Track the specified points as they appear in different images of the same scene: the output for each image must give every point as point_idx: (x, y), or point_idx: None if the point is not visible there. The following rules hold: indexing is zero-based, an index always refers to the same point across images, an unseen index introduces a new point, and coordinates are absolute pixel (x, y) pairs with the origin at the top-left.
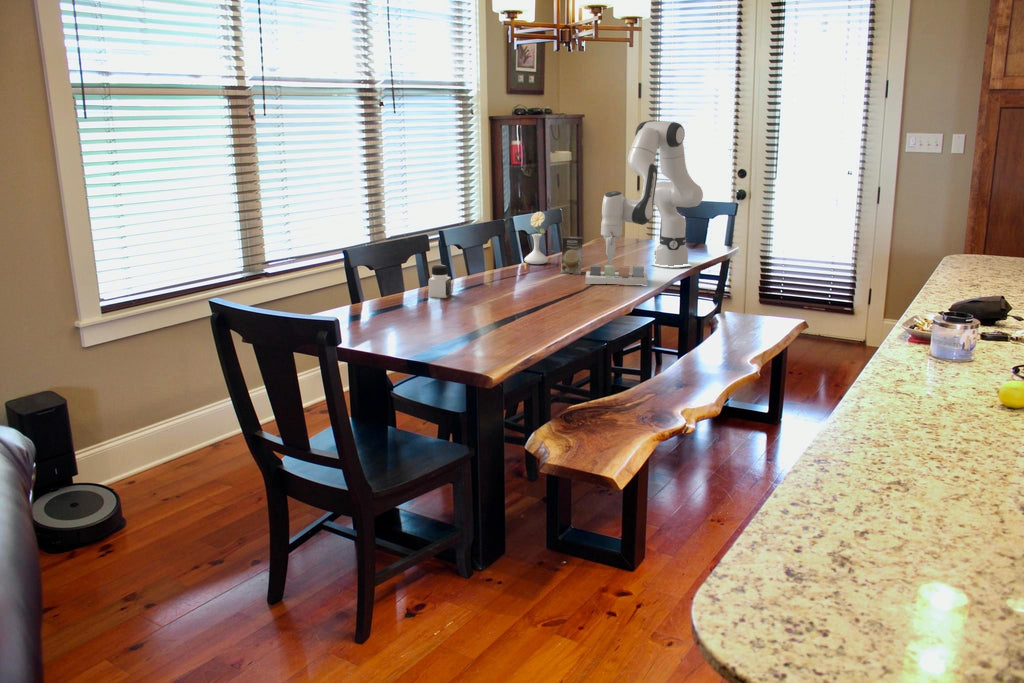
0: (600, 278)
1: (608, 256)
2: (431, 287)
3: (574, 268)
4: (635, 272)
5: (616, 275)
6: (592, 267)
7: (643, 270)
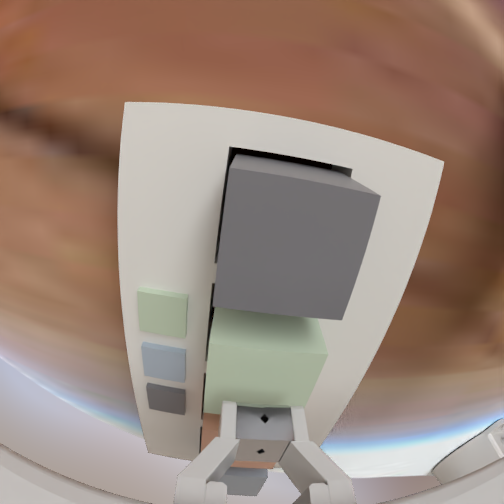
0: (120, 241)
1: (181, 475)
2: None
3: None
4: None
5: None
6: (227, 195)
7: None
